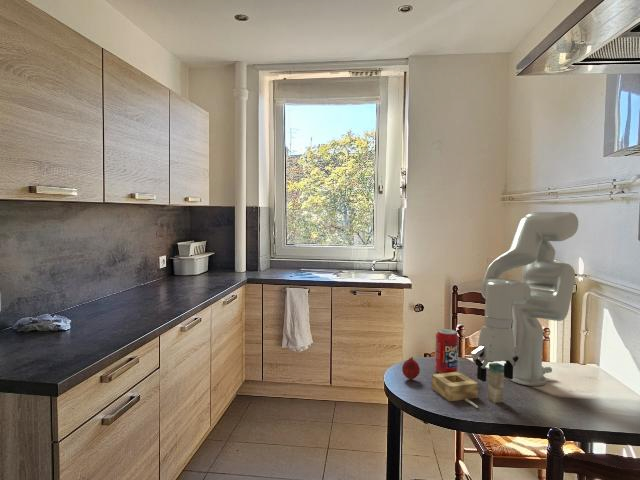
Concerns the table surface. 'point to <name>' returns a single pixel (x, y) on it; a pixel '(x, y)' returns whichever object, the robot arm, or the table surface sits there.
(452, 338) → the soda can
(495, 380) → the green capped spice bottle
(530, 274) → the robot arm
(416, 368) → the onion
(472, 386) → the wooden block
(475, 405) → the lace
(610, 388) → the table surface
